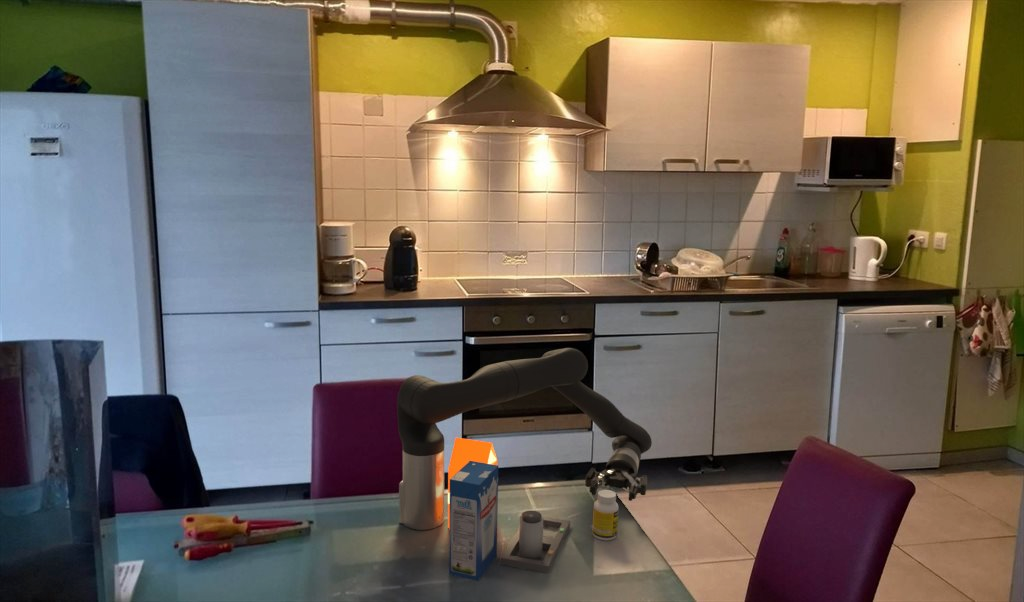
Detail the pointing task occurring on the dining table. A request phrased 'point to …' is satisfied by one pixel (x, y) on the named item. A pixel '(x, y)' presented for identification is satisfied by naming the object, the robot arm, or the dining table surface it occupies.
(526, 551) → the seated grey plug
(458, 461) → the orange juice
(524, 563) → the two-slot grey tray
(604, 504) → the supplement bottle
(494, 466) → the milk carton
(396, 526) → the dining table surface
